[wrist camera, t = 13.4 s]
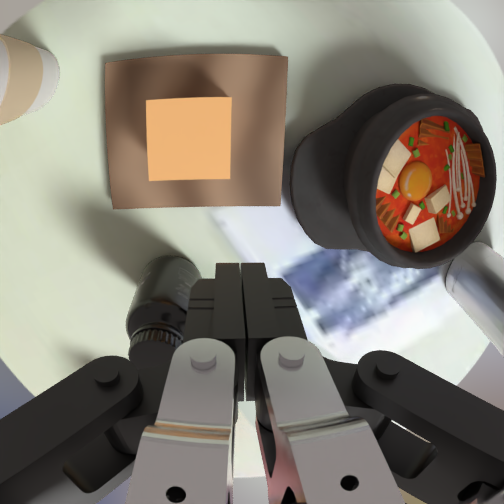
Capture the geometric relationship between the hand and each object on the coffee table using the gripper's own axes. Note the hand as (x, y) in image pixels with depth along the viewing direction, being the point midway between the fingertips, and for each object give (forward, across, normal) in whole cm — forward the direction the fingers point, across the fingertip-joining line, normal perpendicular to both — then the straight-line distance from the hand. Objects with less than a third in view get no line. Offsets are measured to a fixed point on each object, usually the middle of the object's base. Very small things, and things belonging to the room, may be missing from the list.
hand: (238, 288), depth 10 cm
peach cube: (+20, +3, -3) cm, 20 cm away
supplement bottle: (+22, +6, +13) cm, 26 cm away
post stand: (+21, +3, -3) cm, 22 cm away
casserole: (+22, -18, 0) cm, 28 cm away
